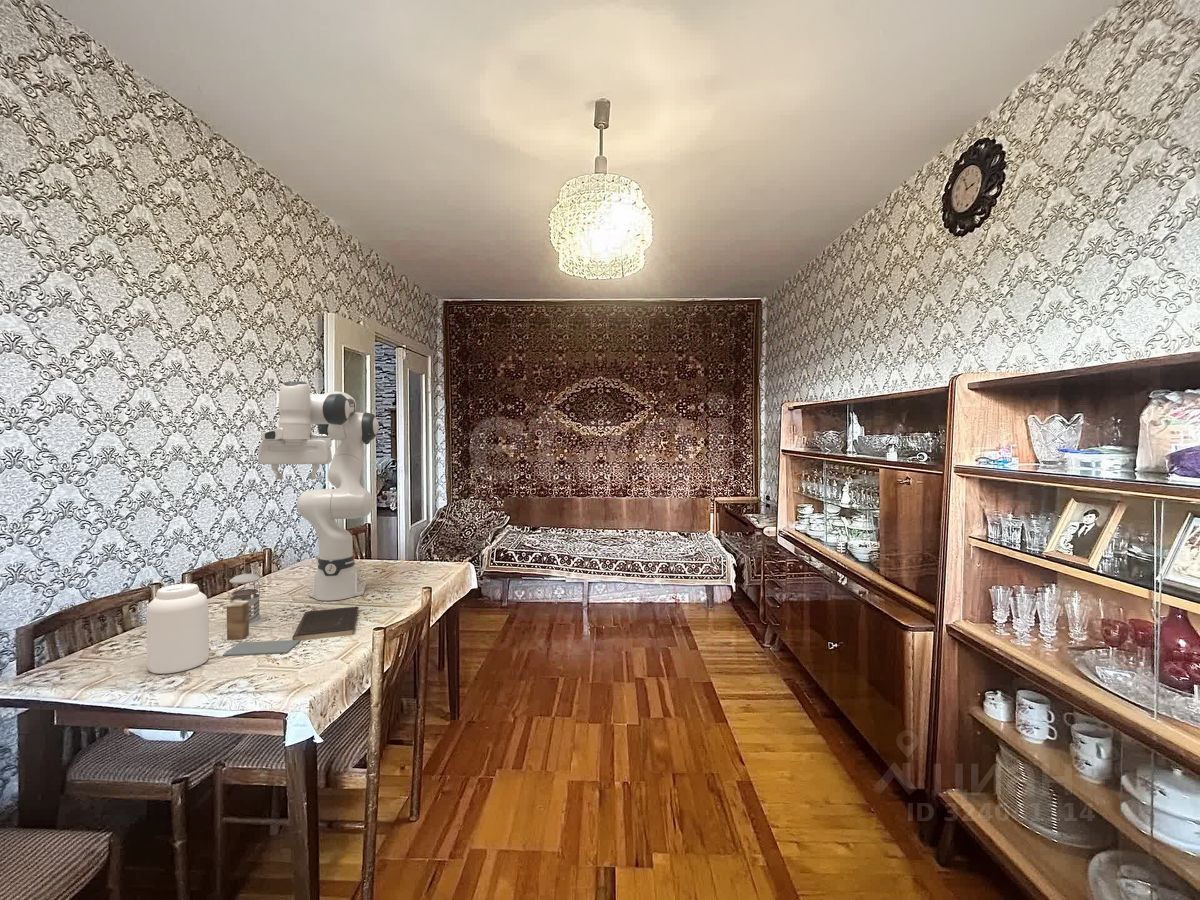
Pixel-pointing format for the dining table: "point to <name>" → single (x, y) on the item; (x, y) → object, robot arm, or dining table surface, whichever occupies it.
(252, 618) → the french press
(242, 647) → the rubber mat
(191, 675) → the dining table surface
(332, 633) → the hardcover book
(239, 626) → the walnut block
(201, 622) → the white lidded jar
